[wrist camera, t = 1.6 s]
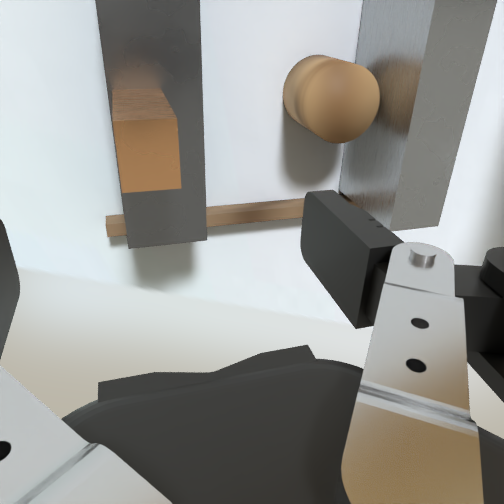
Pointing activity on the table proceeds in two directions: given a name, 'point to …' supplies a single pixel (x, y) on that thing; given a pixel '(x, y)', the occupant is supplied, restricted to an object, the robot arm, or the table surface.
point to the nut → (331, 97)
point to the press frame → (233, 214)
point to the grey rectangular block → (414, 105)
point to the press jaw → (156, 116)
